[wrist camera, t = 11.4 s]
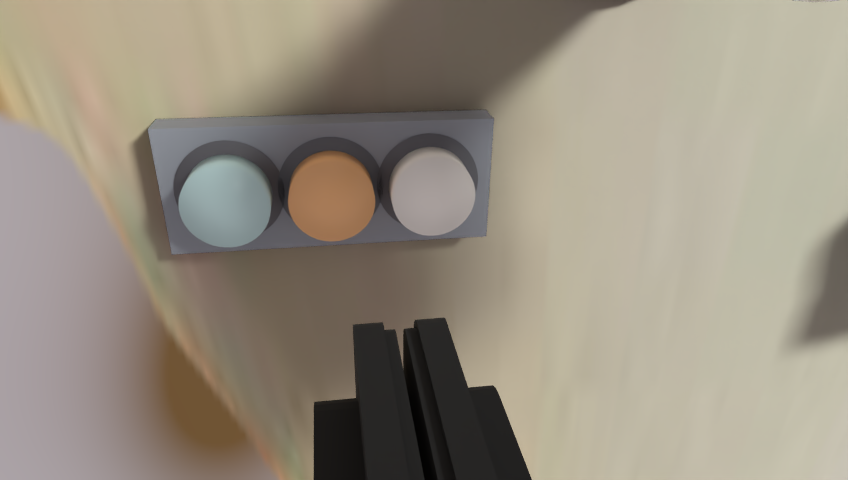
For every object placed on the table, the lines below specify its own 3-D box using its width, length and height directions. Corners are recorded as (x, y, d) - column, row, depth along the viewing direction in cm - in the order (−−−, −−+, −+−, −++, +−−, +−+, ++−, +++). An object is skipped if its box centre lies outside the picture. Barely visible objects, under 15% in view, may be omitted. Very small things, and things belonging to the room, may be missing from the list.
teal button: (268, 152, 36) (265, 164, 35) (276, 230, 39) (274, 244, 37) (178, 156, 36) (171, 168, 34) (192, 234, 38) (186, 249, 36)
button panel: (486, 109, 40) (494, 118, 38) (479, 223, 43) (486, 236, 42) (155, 119, 37) (147, 129, 35) (178, 240, 41) (171, 255, 39)
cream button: (470, 145, 38) (477, 156, 36) (466, 219, 40) (473, 233, 39) (388, 148, 37) (391, 159, 36) (389, 223, 40) (392, 238, 38)
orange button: (371, 149, 37) (374, 160, 35) (373, 224, 40) (376, 239, 38) (285, 152, 37) (284, 164, 35) (292, 229, 39) (291, 243, 37)
